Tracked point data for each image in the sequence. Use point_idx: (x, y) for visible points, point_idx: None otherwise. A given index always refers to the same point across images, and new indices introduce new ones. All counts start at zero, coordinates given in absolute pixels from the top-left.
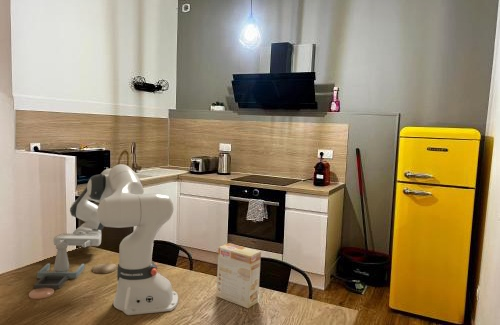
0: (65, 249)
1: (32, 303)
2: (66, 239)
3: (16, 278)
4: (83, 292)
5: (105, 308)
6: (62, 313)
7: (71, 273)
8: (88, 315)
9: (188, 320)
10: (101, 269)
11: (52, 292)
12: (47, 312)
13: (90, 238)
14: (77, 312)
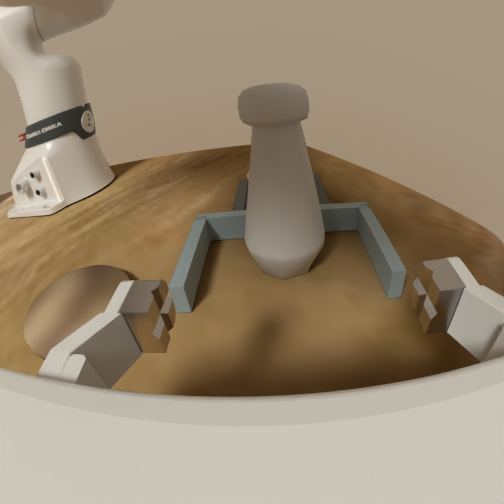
0: (252, 130)
1: None
2: (490, 364)
3: (433, 219)
4: (169, 191)
5: (130, 172)
6: (203, 156)
7: (217, 213)
8: (159, 160)
9: None
10: (94, 281)
11: (248, 173)
12: (231, 153)
13: (19, 375)
14: (177, 160)
